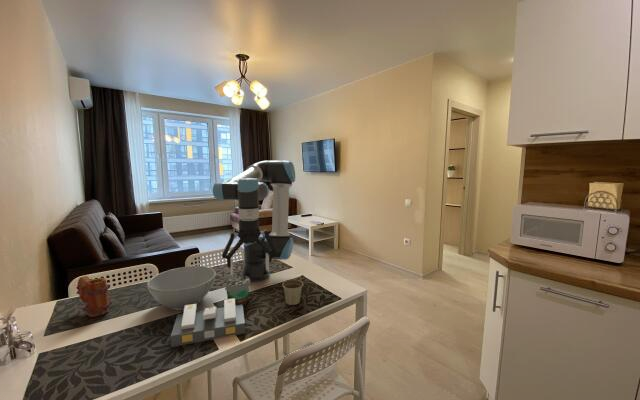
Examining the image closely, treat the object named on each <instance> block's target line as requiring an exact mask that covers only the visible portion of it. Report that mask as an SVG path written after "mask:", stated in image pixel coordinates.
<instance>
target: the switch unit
mask: <svg viewBox="0 0 640 400" xmlns="http://www.w3.org/2000/svg"><path fill="white" fill-rule="evenodd" d="M235 309H236V320H235V321H229V322H224V306H223V307H216V317H215V318H210V319H204V320H203V314H204V311H205V309H204V310H196V317H195V326H194V328H188V329H181V324H182V319H183V313H177V314H176V319H175V321H174V324H173V328H172V331H171V333H170V346H171V348H174V347H179V346H184V345H190V344H194V343H195V344H197V343H201V342H206V340H207V341H211V340H217V339H222V338H227V337H234V336H237V335H242V334H246V321H245V314H244V313H245V312H244V305H243V304H242V305H236V306H235Z"/></svg>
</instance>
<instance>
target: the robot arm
mask: <svg viewBox="0 0 640 400" xmlns="http://www.w3.org/2000/svg"><path fill="white" fill-rule="evenodd" d="M265 182H270V185H271V187H272V188H273V189H272V192H273V193H272V216H271V217H272V221H271V222H272V223H271V224H272V225H271V231H270V233H269V232H268V230H267V229H263V230H260V220H259V218H260V201H263V200H265V199H266V198H267V197H268V196H269V193H270V189H269V185H267V183H265ZM295 182H296V170H295V166H294V164H293V162H292V161H290V160H284V159H283V160H262V161H258V162H255V163H253V164H251V165H248V166H247V168H246V169H245V170H244V171H243V172H241V173H239V174H238V175H236V176H234V177H232V178H230V179H229V180H226V181H216V182H215V183H214V184H213V186H212V195H213V197H214V198H215V199H216V200H222V201H237V202H238V219H239V220H238V232H234V231H231V232H230V234H229V240H228V241H227V243H226V245H225V247H224V250H223V251H222V253H221V258H222V259H226V264H227V265H226V266H227V268H230V277H233V276H234V264H233V263H234V262H233V257H234V254H236V252H237V251H238V250H239V249H240V247H242V245H243V256H244V257H243V259H244V261H243V262H244V264H243V266H242V270H241V280H243V279H245V278H246V276H247V277H248V278H249V279H250V282H259V281H263V280H266V279H267V278H269V276H270V263H272V260H280V261H282V260H284V261H285V260H289V259H290V257H291V255H292V253H293V249H294V239H293V237H291V234H290V233H289V232H288V229H289V207H290V205H289V203H290V202H289V200H290V199H289V198H290V188H291V187H292V186H293V183H295ZM237 237H238V238H239V240H237V242H236V244H234V246H233V247H232V245H233V242H234V240H235V239H237ZM231 247H232V249H231V250H230V248H231ZM229 250H230V251H229ZM228 252H229V253H228Z"/></svg>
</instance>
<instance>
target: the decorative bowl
mask: <svg viewBox="0 0 640 400" xmlns="http://www.w3.org/2000/svg"><path fill="white" fill-rule="evenodd" d="M216 275H217V272H216V270H214V269H213V268H211V267H207V266H202V265H201V266H199V265H197V266H196V265H193V266H191V265H190V266H182V267H177V268H172V269H168V270H166V271H162V272H160V273H157V274H155V275H154V276H153V277H150V279H149V280H148V281H147V283H146V287H147V290H148V292H149V293H150V294H151V296H152V297H153V298H154V300H155V301H157V302H158V303H159V304H160V305H162V306H165V307H168V308H169V309H170V310H172V311H184V307H185V305H191V304H197V305H198V304H199V303H200V301H201V300H202V299H204V298H205V297H206V296H207V295H208V293H209V292H210V291H211V289H212V287H213V285H214V283H215V281H216V280H215V279H216Z"/></svg>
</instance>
